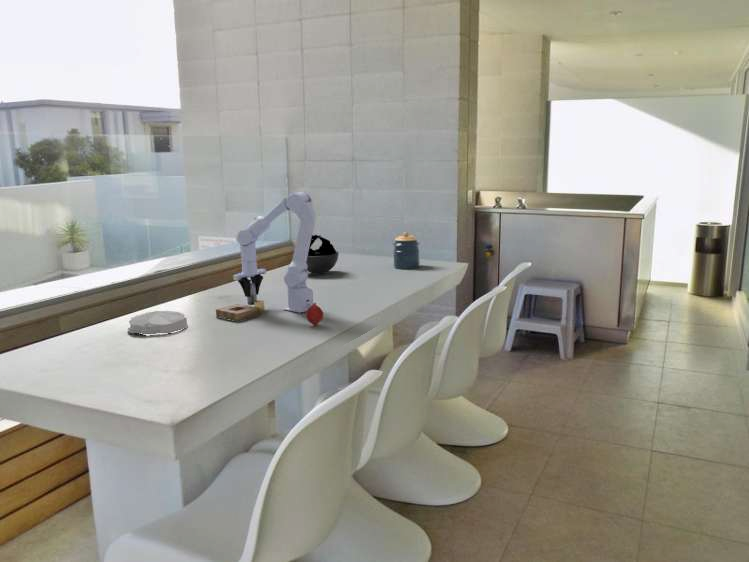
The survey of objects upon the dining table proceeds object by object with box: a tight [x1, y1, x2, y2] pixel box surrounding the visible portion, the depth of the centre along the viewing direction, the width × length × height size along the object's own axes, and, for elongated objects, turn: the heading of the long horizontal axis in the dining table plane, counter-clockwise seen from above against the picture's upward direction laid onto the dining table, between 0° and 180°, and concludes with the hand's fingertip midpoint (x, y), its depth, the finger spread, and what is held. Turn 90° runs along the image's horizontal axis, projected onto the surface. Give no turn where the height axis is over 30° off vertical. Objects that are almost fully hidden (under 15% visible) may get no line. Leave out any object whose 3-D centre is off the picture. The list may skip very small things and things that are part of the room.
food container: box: [127, 310, 189, 335], centre depth 229 cm, size 20×20×7 cm
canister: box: [392, 231, 420, 270], centre depth 327 cm, size 13×13×18 cm
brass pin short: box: [253, 300, 266, 315], centre depth 245 cm, size 4×4×4 cm
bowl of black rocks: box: [306, 234, 340, 275], centre depth 317 cm, size 20×20×19 cm
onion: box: [305, 302, 324, 326], centre depth 225 cm, size 6×6×8 cm
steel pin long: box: [246, 282, 258, 306], centre depth 253 cm, size 4×4×8 cm
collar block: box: [215, 303, 260, 322], centre depth 241 cm, size 12×10×3 cm
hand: (251, 295), depth 253 cm, fingers closed on steel pin long, 4 cm apart
